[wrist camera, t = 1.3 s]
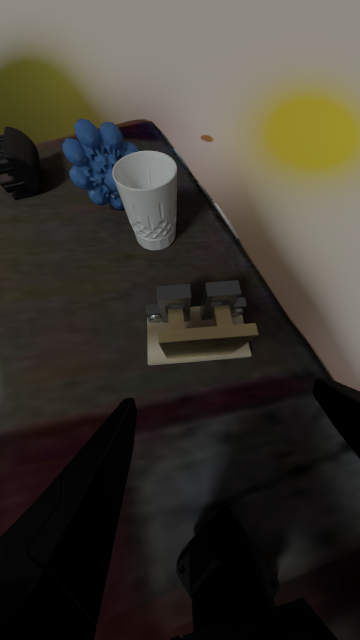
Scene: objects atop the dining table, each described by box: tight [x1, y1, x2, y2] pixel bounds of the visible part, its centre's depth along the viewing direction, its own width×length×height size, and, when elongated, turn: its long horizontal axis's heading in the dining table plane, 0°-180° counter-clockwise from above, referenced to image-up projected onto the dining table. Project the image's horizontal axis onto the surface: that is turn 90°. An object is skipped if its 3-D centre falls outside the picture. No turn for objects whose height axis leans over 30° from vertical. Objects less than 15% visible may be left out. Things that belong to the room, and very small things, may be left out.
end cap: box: [0, 127, 41, 200], centre depth 33 cm, size 10×7×7 cm
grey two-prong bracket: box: [146, 280, 247, 323], centre depth 21 cm, size 2×12×6 cm, turn 95°
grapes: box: [62, 119, 139, 210], centre depth 27 cm, size 12×7×12 cm, turn 119°
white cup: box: [112, 151, 177, 250], centre depth 26 cm, size 8×8×10 cm
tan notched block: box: [158, 305, 258, 359], centre depth 18 cm, size 4×8×8 cm, turn 94°
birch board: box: [147, 306, 251, 365], centre depth 23 cm, size 7×13×1 cm, turn 95°
